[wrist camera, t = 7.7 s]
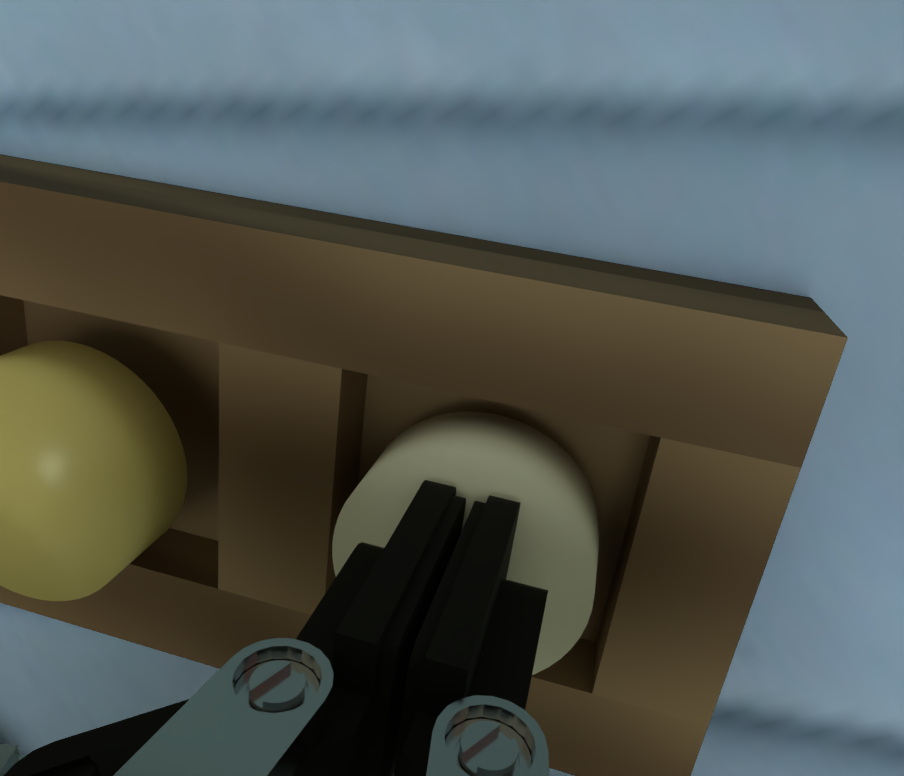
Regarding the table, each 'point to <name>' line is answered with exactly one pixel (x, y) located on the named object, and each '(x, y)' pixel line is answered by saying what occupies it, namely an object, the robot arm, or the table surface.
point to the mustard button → (80, 470)
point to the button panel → (416, 399)
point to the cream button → (476, 477)
